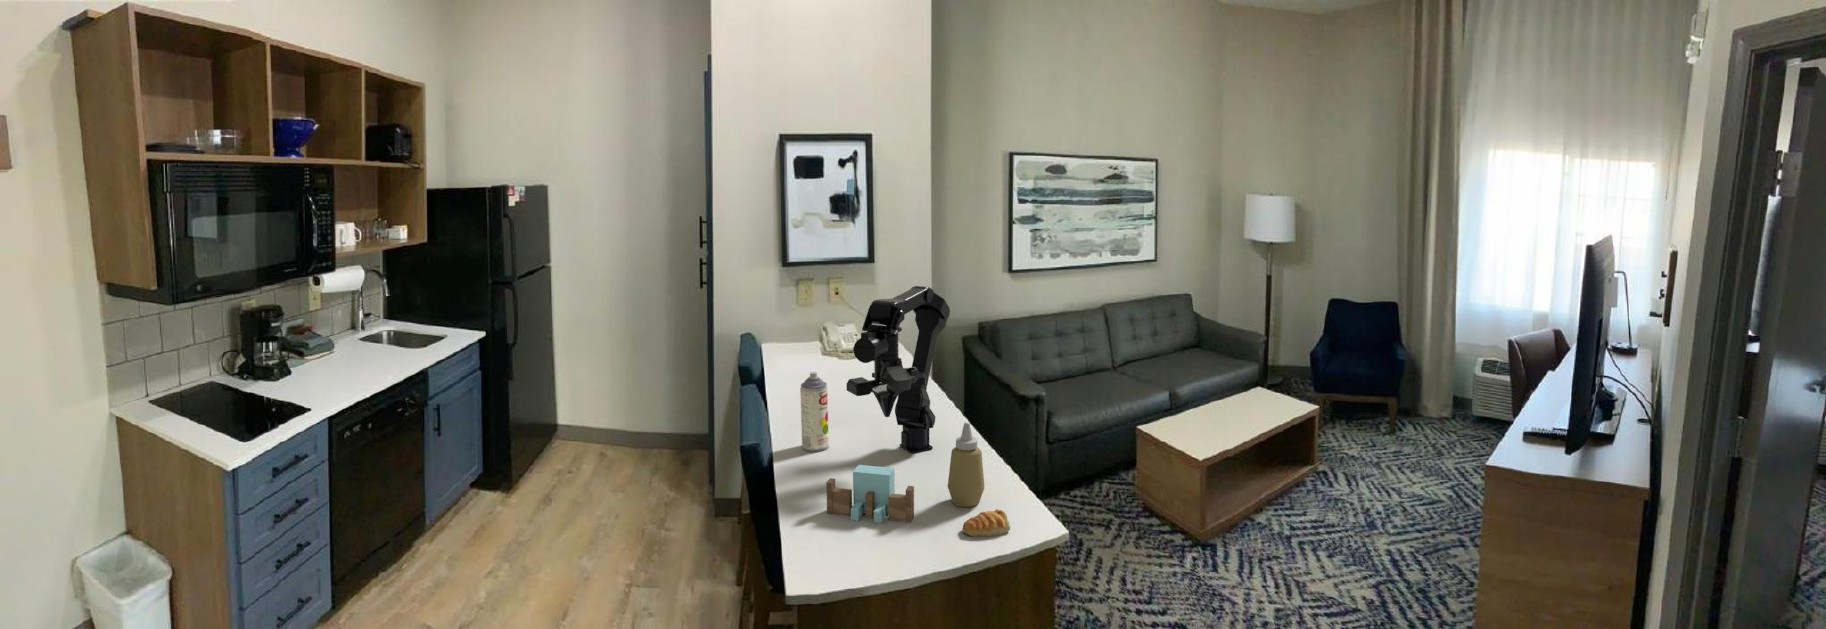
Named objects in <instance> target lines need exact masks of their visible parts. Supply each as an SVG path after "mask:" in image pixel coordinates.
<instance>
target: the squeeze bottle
mask: <svg viewBox="0 0 1826 629" xmlns="http://www.w3.org/2000/svg"><path fill="white" fill-rule="evenodd" d="M970 423H971V422H964V423H963V427H962V432H961V435H960V436H959V437H957V438H955V447H954V448H952V449H951V454H950V463H949V471H948V472H949V473H948V478H947V480H948V481H947V490H948V492H949V495H950V498H951V500H952V501H951V502H952V503H953V504H954V505H956V506H957V507H965V508H966V507H967V508H969V507H975V506H977V505H978V504H979V503H980V500H981V498H982V496H983V493H984V490H985V477H984V464H983V463H984V462H983V455H982V454H983V453H982V450H981V449H980V448H979V447H978V439H977V438H976V437H974V436H973V434H972V428H971V424H970Z"/></svg>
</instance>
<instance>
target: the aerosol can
mask: <svg viewBox="0 0 1826 629" xmlns="http://www.w3.org/2000/svg"><path fill="white" fill-rule="evenodd" d="M827 385H828V384H827V383H826V381H824V380H823V379H821V378H820V376H818V373H817V372H816V371H811V372H810V373H809V376H808V377H807V378H806V379H805V380H804V381H803V382H801V384H800V389H799V390H800V391H799V392H800V393H799V394H800V419H801V420H800V421H801V445H802V446H801V449H802V450H803V451H805V452H807V453H820V452H824V451H826V450H828V449H829V448H830V444H829V410H828V408H829V407H828V406H829V404H828V403H829V402H828V400H829V398H828V386H827Z"/></svg>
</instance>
